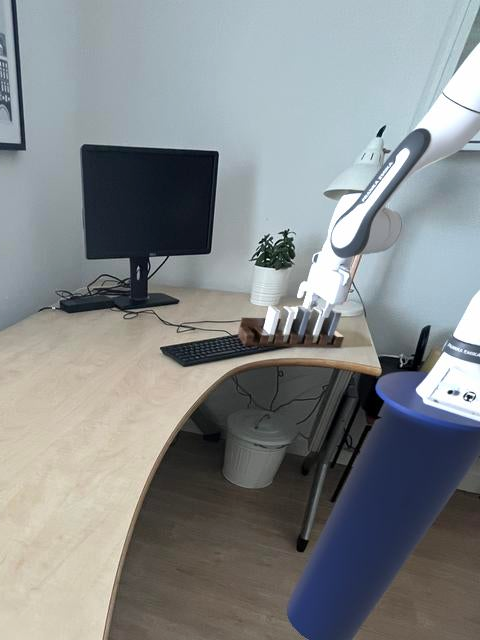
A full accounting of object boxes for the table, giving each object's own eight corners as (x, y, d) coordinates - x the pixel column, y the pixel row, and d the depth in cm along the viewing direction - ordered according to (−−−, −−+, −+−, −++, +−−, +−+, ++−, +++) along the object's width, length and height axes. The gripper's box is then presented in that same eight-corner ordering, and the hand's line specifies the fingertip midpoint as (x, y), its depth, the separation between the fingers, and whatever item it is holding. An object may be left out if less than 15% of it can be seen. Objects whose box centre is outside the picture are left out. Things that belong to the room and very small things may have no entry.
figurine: (298, 314, 162) (312, 269, 152) (320, 320, 156) (335, 274, 146) (285, 316, 159) (298, 270, 149) (307, 323, 153) (322, 276, 143)
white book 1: (272, 342, 135) (280, 311, 129) (267, 342, 135) (275, 311, 129) (266, 335, 140) (274, 305, 134) (261, 335, 140) (269, 305, 134)
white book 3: (316, 343, 135) (326, 312, 129) (311, 342, 135) (321, 312, 129) (309, 336, 140) (318, 306, 134) (304, 336, 140) (313, 306, 134)
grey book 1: (301, 342, 135) (311, 312, 129) (296, 342, 135) (305, 311, 129) (294, 336, 140) (303, 306, 134) (289, 336, 140) (298, 306, 134)
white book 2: (286, 342, 135) (295, 311, 129) (281, 342, 135) (290, 311, 129) (280, 336, 140) (289, 306, 134) (275, 335, 140) (284, 306, 134)
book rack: (340, 347, 134) (347, 328, 131) (244, 345, 134) (249, 326, 131) (328, 338, 141) (335, 319, 138) (237, 336, 141) (241, 317, 137)
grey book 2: (330, 343, 135) (341, 312, 129) (325, 343, 135) (336, 312, 129) (323, 336, 140) (333, 307, 134) (318, 336, 140) (328, 307, 134)
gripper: (363, 269, 115) (343, 323, 124) (332, 254, 131) (315, 303, 140) (340, 268, 115) (321, 322, 124) (311, 253, 131) (296, 302, 140)
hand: (318, 312), depth 132 cm, fingers open, 8 cm apart
